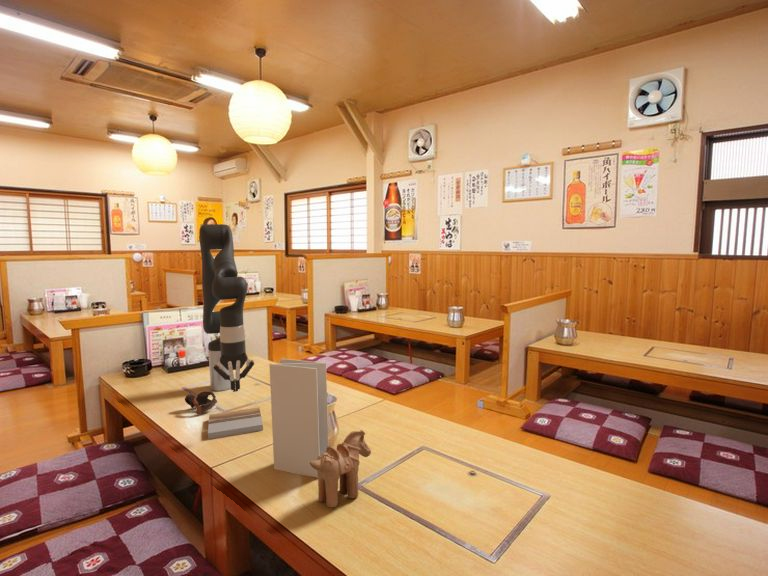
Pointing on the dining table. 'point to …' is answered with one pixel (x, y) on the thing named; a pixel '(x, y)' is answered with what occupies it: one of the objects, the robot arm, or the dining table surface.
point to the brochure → (298, 414)
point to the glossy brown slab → (234, 415)
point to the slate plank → (235, 427)
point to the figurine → (340, 468)
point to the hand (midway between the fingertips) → (235, 390)
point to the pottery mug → (201, 401)
